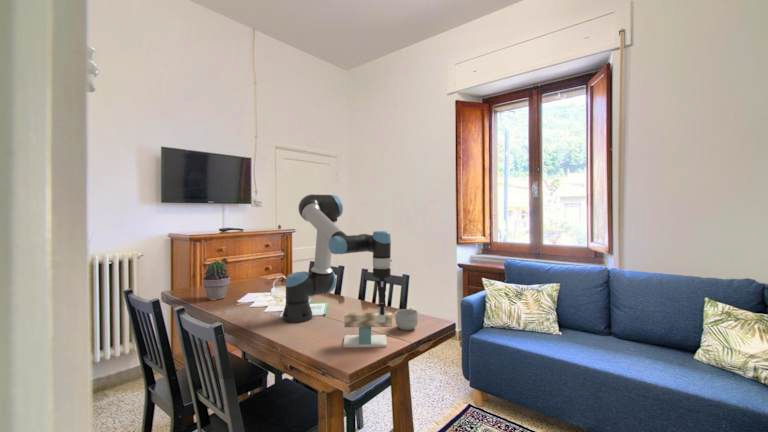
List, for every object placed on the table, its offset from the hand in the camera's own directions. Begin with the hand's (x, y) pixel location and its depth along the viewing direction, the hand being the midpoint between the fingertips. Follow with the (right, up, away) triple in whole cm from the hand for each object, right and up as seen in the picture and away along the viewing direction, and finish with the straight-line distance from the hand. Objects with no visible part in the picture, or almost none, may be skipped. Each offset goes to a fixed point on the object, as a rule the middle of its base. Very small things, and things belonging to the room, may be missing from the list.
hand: (381, 317), depth 148 cm
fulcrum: (-7, -11, 0) cm, 13 cm away
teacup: (+13, -11, +19) cm, 25 cm away
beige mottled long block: (-6, -4, 0) cm, 7 cm away
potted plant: (-105, -9, +70) cm, 127 cm away
